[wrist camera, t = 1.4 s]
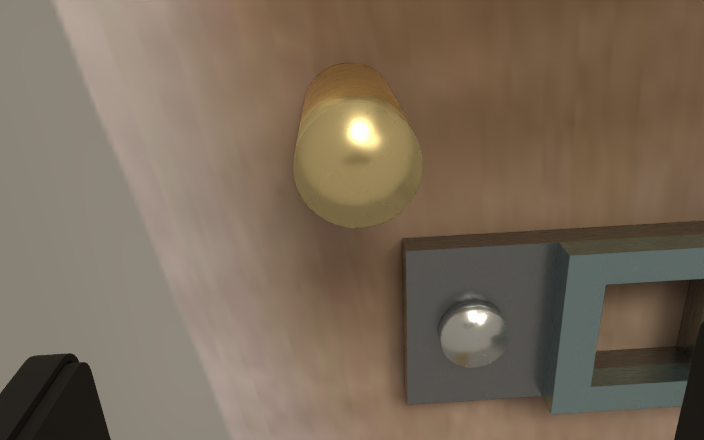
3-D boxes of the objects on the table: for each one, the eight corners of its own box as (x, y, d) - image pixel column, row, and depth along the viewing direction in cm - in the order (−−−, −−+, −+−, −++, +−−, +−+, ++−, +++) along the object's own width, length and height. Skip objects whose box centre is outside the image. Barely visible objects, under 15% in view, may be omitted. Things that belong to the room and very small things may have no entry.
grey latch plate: (402, 238, 31) (408, 260, 28) (740, 218, 31) (773, 238, 29) (404, 387, 34) (409, 416, 32) (703, 368, 35) (730, 396, 32)
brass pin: (299, 65, 27) (287, 107, 19) (393, 60, 27) (423, 100, 19) (307, 156, 29) (298, 231, 20) (395, 150, 29) (423, 224, 20)
